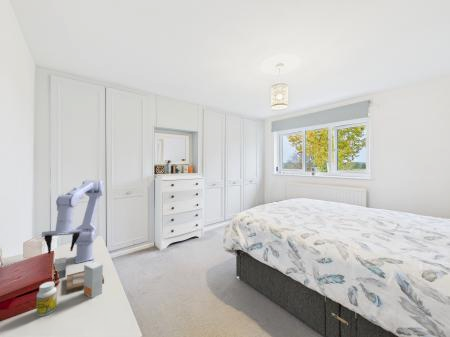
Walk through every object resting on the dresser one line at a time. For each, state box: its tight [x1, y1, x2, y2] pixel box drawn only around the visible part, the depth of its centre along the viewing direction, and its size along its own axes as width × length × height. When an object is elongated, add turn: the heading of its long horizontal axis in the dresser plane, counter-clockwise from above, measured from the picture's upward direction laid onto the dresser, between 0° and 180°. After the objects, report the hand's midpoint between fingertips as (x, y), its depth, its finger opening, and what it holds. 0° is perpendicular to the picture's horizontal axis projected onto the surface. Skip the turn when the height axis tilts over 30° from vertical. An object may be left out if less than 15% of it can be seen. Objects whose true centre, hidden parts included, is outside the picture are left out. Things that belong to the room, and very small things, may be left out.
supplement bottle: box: [36, 281, 58, 317], centre depth 71 cm, size 5×5×10 cm
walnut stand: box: [66, 270, 105, 295], centre depth 90 cm, size 13×13×2 cm
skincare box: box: [83, 260, 104, 299], centre depth 82 cm, size 6×4×12 cm
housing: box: [54, 256, 67, 280], centre depth 94 cm, size 6×4×7 cm, turn 38°
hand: (60, 251), depth 90 cm, fingers open, 7 cm apart
